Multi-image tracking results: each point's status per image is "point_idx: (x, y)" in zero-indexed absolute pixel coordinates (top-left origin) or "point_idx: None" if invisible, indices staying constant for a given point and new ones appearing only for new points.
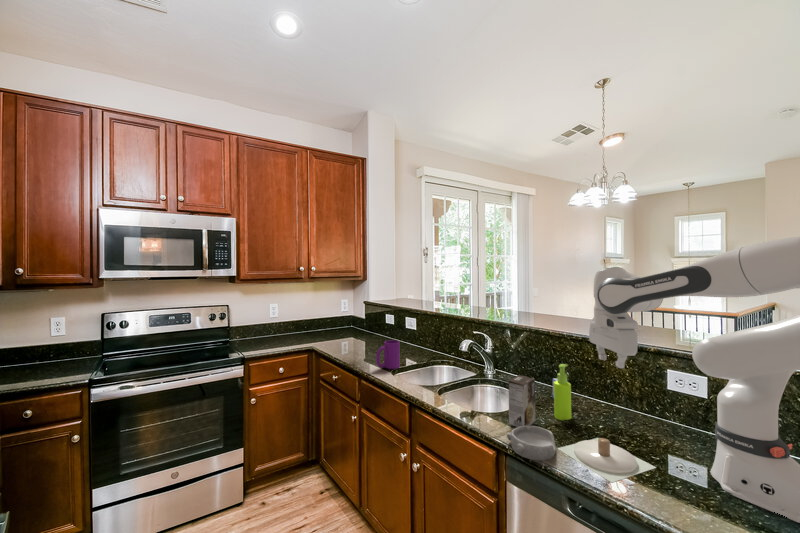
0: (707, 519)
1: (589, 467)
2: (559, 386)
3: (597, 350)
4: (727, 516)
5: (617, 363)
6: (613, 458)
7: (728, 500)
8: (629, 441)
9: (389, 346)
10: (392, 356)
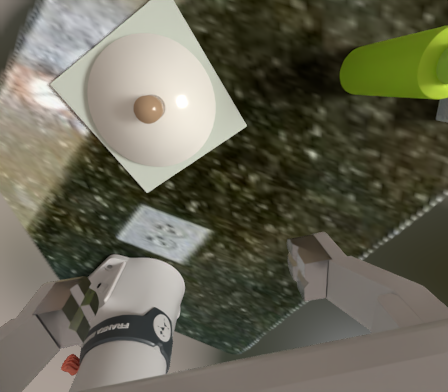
0: (21, 201)
1: (94, 53)
2: (427, 41)
3: (381, 270)
4: (45, 229)
5: (37, 303)
6: (140, 121)
7: (92, 248)
8: (248, 187)
9: None
10: None
